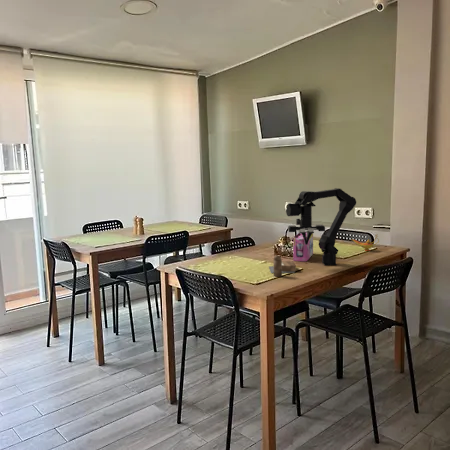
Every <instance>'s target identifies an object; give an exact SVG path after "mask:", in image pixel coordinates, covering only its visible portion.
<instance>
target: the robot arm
mask: <svg viewBox="0 0 450 450" xmlns="http://www.w3.org/2000/svg"><path fill="white" fill-rule="evenodd" d="M331 197H332V198H333V197H335V198H336V199H337V200H338V202H339V204H338V212H337V213H336V215H335V217H334V219H333V221H332V223H331V225H330V227H329V229H328V230H327V233H326V234H322V235H320V239H319V240H318V247H319V249H320V250H321V252H322V255H321V262H322V265H324V266H337V265H338V264H337V255H338V252H339V249H337V247H336V237H337V235H338V233H339V231H340V229H341V227H342V226H343V223H344V221H345V219H346V218H347V216H348V214H349V213H350V212H351V211H352V210H353V209H354V207H355V206H356V205H357V200H356V198H355V197H354V196H351V195H350V194H348V193H347V192H345V191H344V190H343V189H342V188H337V187H335V188H331V189H324V190H318V191H309V190H302V191H300V192H299V194H298V197H297V199H296V201H295V202H294V203H292V202H290V203H289V202H288V203H287V206H286V209H285V213H286V216H287V217H299V216H300V218H295V219H296V220H295V221H296V222H295V223H296V225H295V224H293V225H291V224H290V225H288V227H287V231H288V232H289V233H296V232H297V231H298V233H301V234H302V236H303V238H304V241H305V244H306V245H307V244H308V241H309V239H310V236H311V235H312V233H313V234H314V233H315V231H316V230H317V231H318V232H325V231H326V227H325V225H323V224H315V225H314V226H313V225H312V224H313V218H312V217H313V216H312V214H313V211H312V208H313V207H316V204H315V203H314V202H315V201H317V200H320V199H324V198H325V199H326V198H331ZM314 230H315V231H314ZM306 232H307V238H306Z"/></svg>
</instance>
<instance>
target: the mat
mask: <svg viewBox="0 0 450 450" xmlns="http://www.w3.org/2000/svg"><path fill="white" fill-rule="evenodd" d="M268 269H269V272H270V274H271V273H274V265H272V266H268ZM295 273H296V271H282V274H295Z"/></svg>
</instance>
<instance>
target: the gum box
mask: <svg viewBox="0 0 450 450" xmlns="http://www.w3.org/2000/svg"><path fill="white" fill-rule="evenodd" d="M305 232H306V238H307V231H305ZM292 245H293V246H292V247H293V249H292V250H293V251H292V252H293V253H292V256H293V257H292V261H293V262H307V261H308V260H309V259H310V258H311V256H313V255H314V233H312V235H311V236H310V239H309V241H308V244H307V245H306V244H305V241H304V238H303V236H302V234H301V233H299V232H297V234H296V235H294V237H293V244H292Z"/></svg>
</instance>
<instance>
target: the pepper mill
mask: <svg viewBox="0 0 450 450" xmlns="http://www.w3.org/2000/svg"><path fill="white" fill-rule="evenodd" d="M282 261H283V260H282V257H281V255H275V256H274V257H273V266H274V274H273V277H274V276H275V277H274V278H276V277H277V278H279V277H280V278H281V277H282V276H283V273H282Z"/></svg>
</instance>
